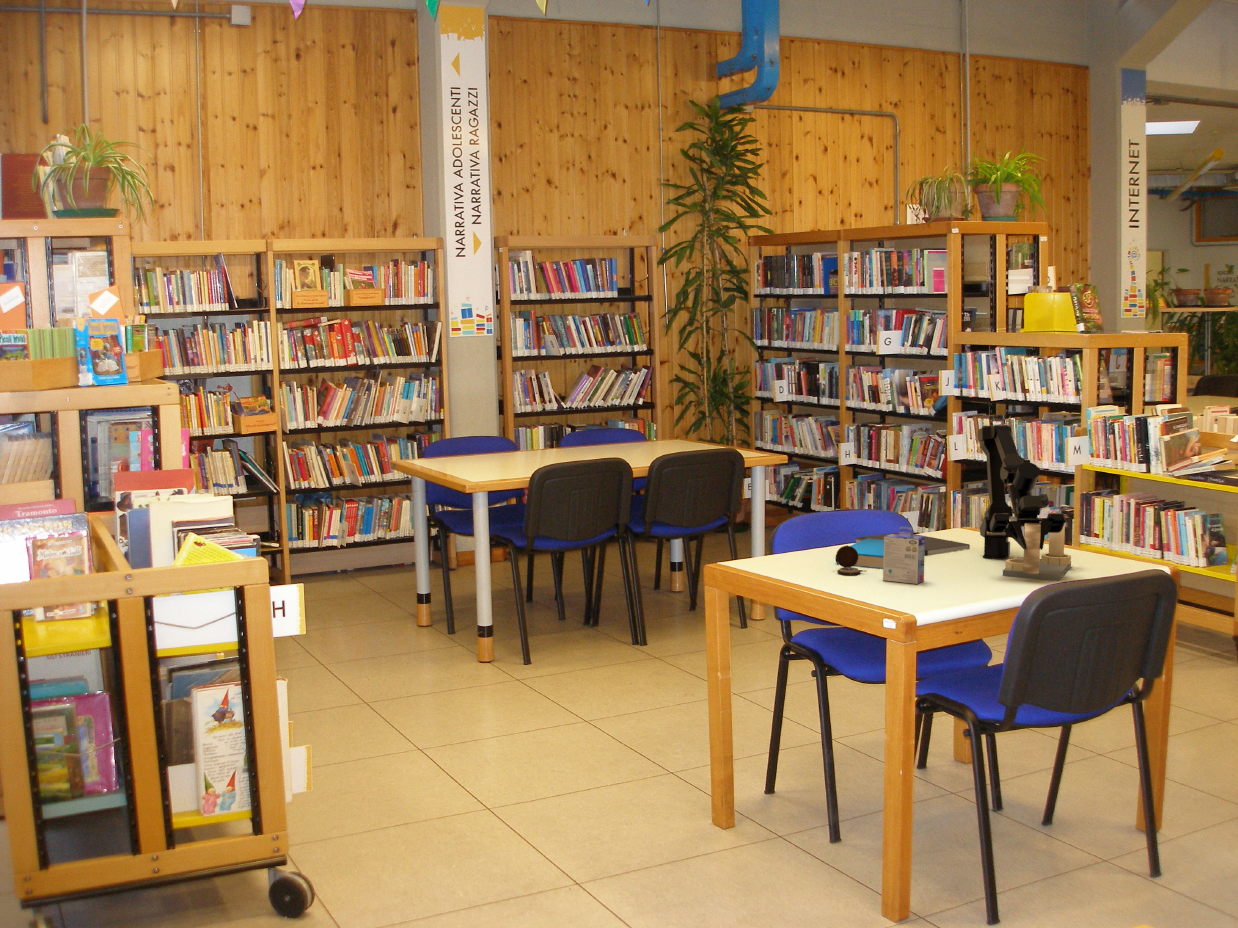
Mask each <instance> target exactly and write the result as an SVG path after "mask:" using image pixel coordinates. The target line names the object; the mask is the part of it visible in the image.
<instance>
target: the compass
mask: <svg viewBox="0 0 1238 928" xmlns="http://www.w3.org/2000/svg"><path fill="white" fill-rule="evenodd" d="M835 557H836V560H837V562H838V564H839V566H841V568H839V569H838V570H837V574H838V575H840V576H847V577H850V576H851V577H852V576H859V575H860V574H861V573H862V572H864V573H866V572H868V570H866V569H858V568H856V567H855V566H856V565H855V564H856V563H857V561H858V552H857V551H856V549H854V548H853V547H851V545H848V544H847V545H844V546H841V547H839V549H838V550H837V551H836V554H835ZM836 560H835V561H836ZM854 565H855V566H854Z"/></svg>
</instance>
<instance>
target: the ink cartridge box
mask: <svg viewBox="0 0 1238 928" xmlns="http://www.w3.org/2000/svg"><path fill="white" fill-rule="evenodd" d="M902 530H907V531H902ZM908 531H909V532H908ZM897 532H898V535H894V534H889V533H888V534H889V535H887V536H885V537H884V558H883V569H882V581H886V582H888V581H889V582H897V583H905V584H914V585H918V584H921V583H923V582H925V556H924V553H925V537H924V536H925V535H922V536H912V534H913V527H912V526H903V525H901V526H899V530H898V531H897Z"/></svg>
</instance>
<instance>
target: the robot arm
mask: <svg viewBox="0 0 1238 928" xmlns="http://www.w3.org/2000/svg"><path fill="white" fill-rule="evenodd" d="M981 426H982V427H981V428H979V429H978V430H977V441H978V442H979V448H980V449H981V451H982V452H983V453H984V455H985V456H986V457H985V458H986V470H987V473H986V474H987V486H988V502H989V504H988V506H987V508H986V510H985V511H984V516H983V519H982V522H981V523H980V527H979V535H980V536H981V537H983V539H984V544H983V545H984V547H983V549H984V550H983V555H982V558H984V559H985V558H986V559H996V560H1007V558H1010V555H1011V541H1009V538H1012V539H1013V540H1014V541H1015V542H1016V543H1017V544H1018V545H1019V546H1020V547H1021V548H1022V550H1023V551H1024V550H1026V542H1025V539H1024V533H1023V530H1022V527H1025V523H1038V524H1041V532H1040V551H1042V550H1044V549H1043V548H1044V545H1045V543H1044V542H1045V539H1046V538H1045V537H1046V535H1047V536H1048V535H1049V533H1059V532H1061V531H1062V528H1063V526H1064V524H1065V525H1066V522H1067V519H1066V516H1065V514H1064V513H1063V512H1048V514H1047V516H1046V518H1042V517H1038V516H1040V515H1041V509H1043V508H1046V507H1048V506H1049V505H1050V502H1049V497H1048V494H1047V493H1040V494H1039V495H1033V492H1032V490H1034V489H1035V487H1036V484H1037V481H1038V479H1039V476H1040V473H1041V469H1040V467H1038V465H1036V464H1034V463H1032V462H1031V459H1025V458H1024V457H1022V456H1020V455H1019V451H1018V448H1017V447H1016V443H1015V441H1014V438H1013V436H1012V428H1011V425H1008V424H995V425H981ZM1007 484H1009V487H1008V498H1010V502H1011V503H1010V504H1011V506H1010V505H1009V504H1008V502H1007V501H1006V488H1005V485H1007Z"/></svg>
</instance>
